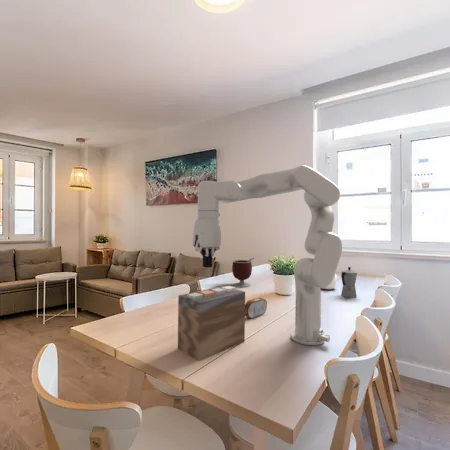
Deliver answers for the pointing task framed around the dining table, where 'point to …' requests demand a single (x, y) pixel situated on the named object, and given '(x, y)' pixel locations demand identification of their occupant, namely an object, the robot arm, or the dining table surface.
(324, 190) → the robot arm
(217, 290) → the grey key
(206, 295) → the terracotta key
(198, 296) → the sage key
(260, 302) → the tin
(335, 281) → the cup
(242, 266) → the mate gourd
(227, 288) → the cream key
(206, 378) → the dining table surface
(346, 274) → the coffeepot
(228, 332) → the console
